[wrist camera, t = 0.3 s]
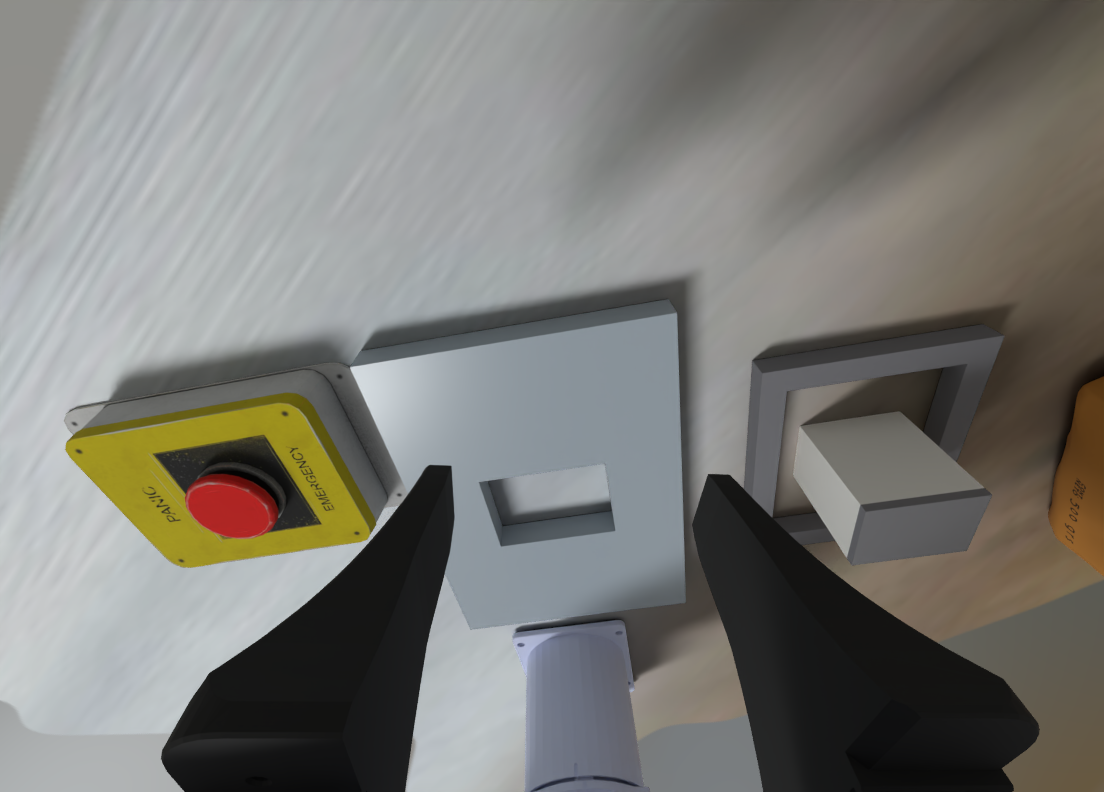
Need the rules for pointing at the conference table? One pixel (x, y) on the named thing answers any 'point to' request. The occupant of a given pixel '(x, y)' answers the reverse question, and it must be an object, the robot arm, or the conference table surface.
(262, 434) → the emergency button
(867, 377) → the grey square frame
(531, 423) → the port plate
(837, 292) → the conference table surface
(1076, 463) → the coffee package
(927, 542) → the grey block
